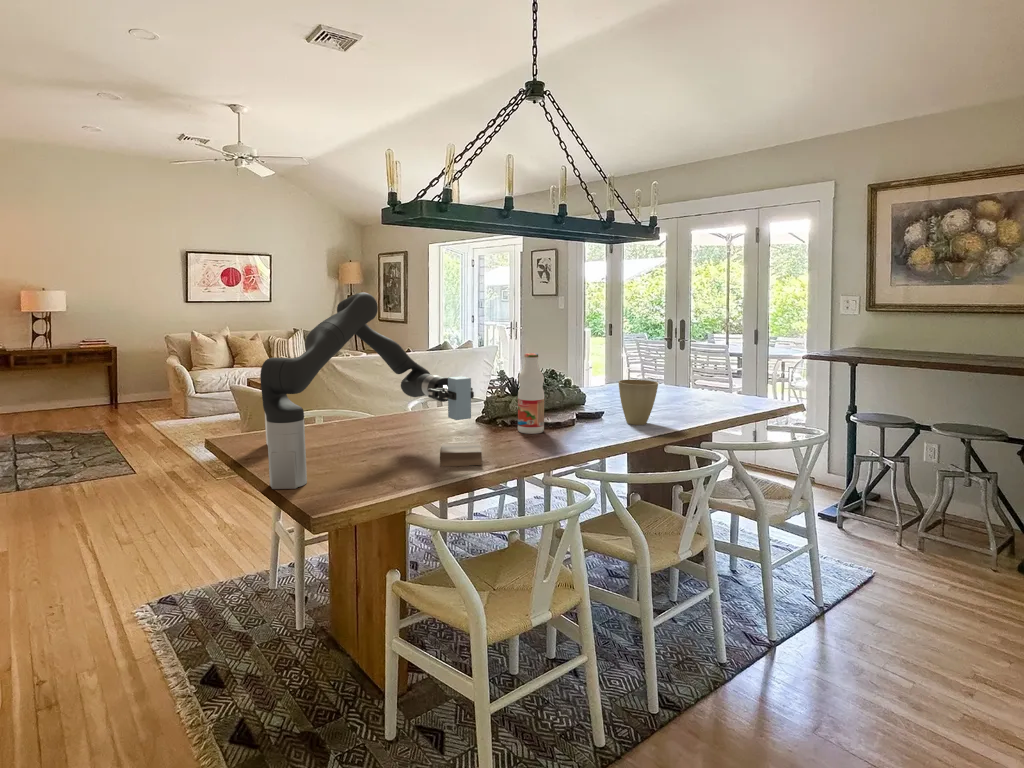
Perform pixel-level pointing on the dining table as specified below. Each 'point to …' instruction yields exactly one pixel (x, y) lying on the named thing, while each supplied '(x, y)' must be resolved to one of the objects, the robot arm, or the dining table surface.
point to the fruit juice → (531, 397)
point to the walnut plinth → (460, 454)
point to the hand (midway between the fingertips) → (463, 395)
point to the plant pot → (637, 399)
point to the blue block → (460, 398)
